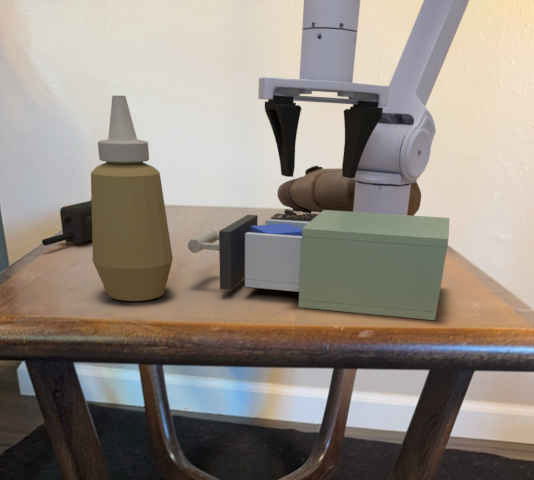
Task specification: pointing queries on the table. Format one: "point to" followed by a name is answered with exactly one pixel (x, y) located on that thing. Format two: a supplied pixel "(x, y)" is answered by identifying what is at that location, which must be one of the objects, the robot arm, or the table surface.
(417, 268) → the drawer cabinet
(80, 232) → the walkie-talkie
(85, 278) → the table surface
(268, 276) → the grey drawer
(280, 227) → the blue rounded cube
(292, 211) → the knife
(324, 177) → the boot
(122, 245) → the squeeze bottle
